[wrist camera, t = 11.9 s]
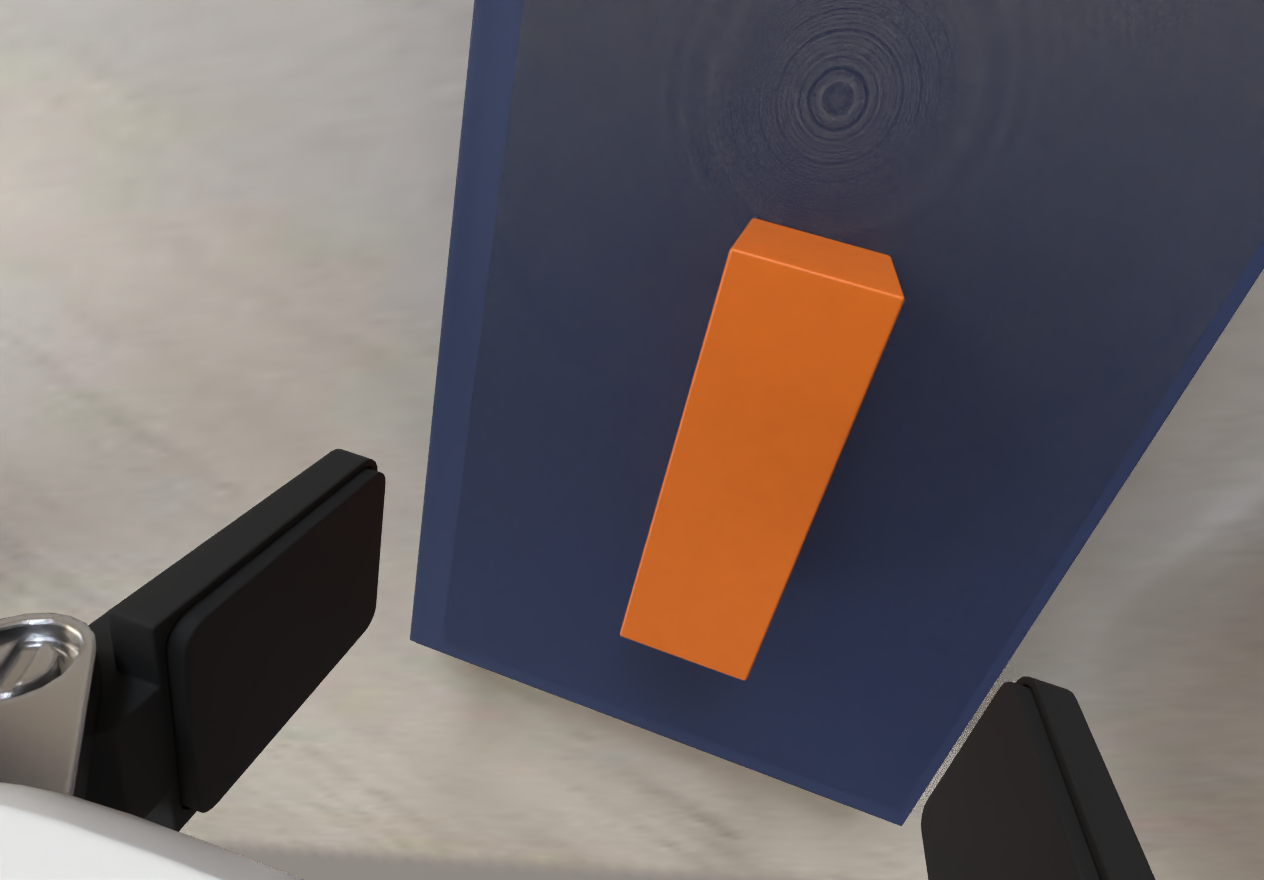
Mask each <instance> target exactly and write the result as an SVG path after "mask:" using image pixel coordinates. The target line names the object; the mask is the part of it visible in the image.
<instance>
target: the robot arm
mask: <svg viewBox="0 0 1264 880" xmlns="http://www.w3.org/2000/svg"><path fill="white" fill-rule="evenodd" d="M384 495H385V476H384V474H383V473H381V472H378V471H377V465H376V462H375V461H374V460H372V459H369V458H366V457H363V456H360V455H357V454H354V453H351V452H348V451H345V450H342V449H335V450H333V451H331V452H330V453H329V454H327V455H326V456H324V457H323V458H322V459H320V460H319V461H317V462H316V463H315V464H313V465H312V466H310V467H309V468H308V469H306V470H305V471H303V472H302V473H301V474H299V475H298V476H296V477H295V478H294V479H292V480H291V481H289V482H288V483H287V484H285V485H284V486H282V487H281V488H280V489H278V490H277V491H275V492H274V493H273V494H271V495H270V496H268V497H267V498H266V499H264V500H263V501H261V502H260V503H259V504H257V505H256V506H254V507H253V508H252V509H250V510H249V511H247V512H246V513H245V514H243V515H242V516H240V517H239V518H238V519H236V520H235V521H233V522H232V523H231V524H229V525H228V526H226V527H225V528H224V529H222V530H221V531H219V532H218V533H217V534H215V535H214V536H212V537H211V538H210V539H208V540H207V541H205V542H204V543H203V544H201V545H200V546H198V547H197V548H196V549H194V550H193V551H191V552H190V553H189V554H187V555H186V556H184V557H183V558H182V559H180V560H179V561H177V562H176V563H175V564H173V565H172V566H170V567H169V568H168V569H166V570H165V571H163V572H162V573H161V574H159V575H158V576H156V577H155V578H154V579H152V580H151V581H149V582H148V583H147V584H145V585H144V586H142V587H141V588H140V589H138V590H137V591H135V592H134V593H133V594H131V595H130V596H128V597H127V598H126V599H124V600H123V601H121V602H120V603H119V604H117V605H116V606H114V607H113V608H112V609H110V610H109V611H108V612H106V613H105V614H104V615H102V616H101V617H99V618H98V619H97V620H95V621H94V622H93V623H91V624H90V625H87V624H86V623H84V622H82V621H80V620H78V619H76V618H74V617H72V616H67V615H61V614H55V613H32V614H23V615H18V616H13V617H8V618H3V619H0V880H303V879H300V878H298V877H295V876H293V875H290V874H288V873H285V872H283V871H280V870H278V869H275V868H273V867H270V866H267V865H265V864H262V863H260V862H258V861H255V860H253V859H250V858H247V857H245V856H242V855H239V854H237V853H234V852H231V851H228V850H226V849H223V848H220V847H218V846H215V845H212V844H210V843H207V842H204V841H202V840H199V839H196V838H194V837H191V836H188V835H186V834H183V833H180V832H179V831H180V830H181V828H182V827H183V826H184V825H185V824H186V823H187V822H188V820H189V819H190V818H191V817H192V816H193V815H194V814H195V812H196V811H199V812H202V813H204V812H207V811H209V810H210V809H212V808H213V807H214V806H215V805H216V804H217V803H218V802H219V801H220V800H221V798H222V797H223V796H224V795H225V794H226V793H227V791H228V790H229V789H230V788H231V787H232V786H233V784H234V783H235V782H236V781H237V780H238V779H239V777H240V776H241V775H242V774H243V773H244V772H245V770H246V769H247V768H248V767H249V766H250V765H251V763H252V762H253V761H254V760H255V759H256V758H257V756H258V755H259V754H260V753H261V752H262V751H263V749H264V748H265V747H266V746H267V745H268V744H269V742H270V741H271V740H272V739H273V738H274V737H275V735H276V734H277V733H278V732H279V731H280V730H281V728H282V727H283V726H284V725H285V724H286V723H287V721H288V720H289V719H290V718H291V717H292V716H293V714H294V713H295V712H296V711H297V710H298V709H299V707H300V706H301V705H302V704H303V703H304V702H305V700H306V699H307V698H308V697H309V696H310V695H311V693H312V692H313V691H314V690H315V689H316V688H317V686H318V685H319V684H320V683H321V682H322V681H323V679H324V678H325V677H326V676H327V675H328V674H329V672H330V671H331V670H332V669H333V668H334V667H335V665H336V664H337V663H338V662H339V661H340V660H341V659H342V657H343V656H344V655H345V654H346V653H347V652H348V650H349V649H350V648H351V647H352V646H353V645H354V643H355V642H356V641H357V640H358V639H359V638H360V636H361V635H362V634H363V633H364V632H365V630H366V629H367V628H368V626H369V624H370V623H371V621H372V618H373V616H374V613H375V609H376V599H377V586H378V573H379V560H380V547H381V534H382V521H383V508H384ZM921 831H922V838H923V845H924V852H925V859H926V866H927V873H928V880H1155V878H1154V875H1153V873H1152V871H1151V869H1150V866H1149V864H1148V862H1147V859H1146V857H1145V855H1144V852H1143V850H1142V848H1141V846H1140V843H1139V841H1138V839H1137V836H1136V834H1135V832H1134V830H1133V827H1132V825H1131V823H1130V820H1129V818H1128V816H1127V814H1126V811H1125V809H1124V807H1123V804H1122V802H1121V800H1120V798H1119V795H1118V793H1117V791H1116V788H1115V786H1114V784H1113V782H1112V779H1111V777H1110V775H1109V772H1108V770H1107V768H1106V766H1105V763H1104V761H1103V759H1102V756H1101V754H1100V752H1099V750H1098V747H1097V745H1096V743H1095V740H1094V738H1093V736H1092V733H1091V731H1090V729H1089V727H1088V724H1087V722H1086V720H1085V717H1084V715H1083V713H1082V711H1081V708H1080V706H1079V704H1078V701H1077V699H1076V697H1075V696H1074V694H1073V693H1072V692H1071V691H1069V690H1067V689H1064V688H1061V687H1058V686H1055V685H1052V684H1049V683H1046V682H1043V681H1040V680H1037V679H1034V678H1031V677H1022V678H1020V679H1018V681H1017V682H1016V683H1013V682H1006V683H1004V684H1003V685H1002V686H1001V687H1000V689H999V690H998V692H997V693H996V695H995V696H994V698H993V699H992V701H991V703H990V704H989V706H988V707H987V709H986V710H985V712H984V713H983V715H982V716H981V718H980V720H979V721H978V723H977V724H976V726H975V727H974V729H973V730H972V732H971V733H970V735H969V737H968V738H967V740H966V741H965V743H964V744H963V746H962V747H961V749H960V751H959V752H958V754H957V755H956V757H955V758H954V760H953V761H952V763H951V764H950V766H949V768H948V769H947V771H946V772H945V774H944V775H943V777H942V778H941V780H940V781H939V783H938V785H937V786H936V788H935V789H934V791H933V792H932V794H931V795H930V797H929V798H928V800H927V802H926V804H925V806H924V809H923V813H922V819H921Z"/></svg>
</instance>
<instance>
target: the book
mask: <svg viewBox="0 0 1264 880" xmlns="http://www.w3.org/2000/svg"><path fill="white" fill-rule="evenodd" d="M752 218H756V219H760V220H763V221H767V222H770V223H774V224H778V225H781V226H785V227H788V228H792V229H796V230H799V231H803V232H806V233H810V234H814V235H817V236H821V237H824V238H828V239H831V240H835V241H839V242H842V243H846V244H849V245H853V246H857V247H860V248H864V249H867V250H871V251H875V252H878V253H882V254H885V255H889V256H890V257H891V259H892V262H893V265H894V268H895V271H896V274H897V277H898V280H899V283H900V286H901V289H902V292H903V295H904V303H903V305H902V307H901V310H900V312H899V315H898V317H897V319H896V322H895V324H894V327H893V329H892V331H891V334H890V336H889V339H888V341H887V343H886V346H885V348H884V351H883V353H882V355H881V358H880V360H879V363H878V365H877V367H876V370H875V372H874V375H873V377H872V379H871V382H870V384H869V387H868V389H867V392H866V394H865V396H864V399H863V401H862V404H861V406H860V408H859V411H858V413H857V416H856V418H855V420H854V423H853V425H852V428H851V430H850V432H849V435H848V437H847V440H846V442H845V444H844V447H843V449H842V452H841V454H840V456H839V459H838V461H837V464H836V466H835V468H834V471H833V473H832V476H831V478H830V480H829V483H828V485H827V488H826V490H825V492H824V495H823V497H822V500H821V502H820V504H819V507H818V509H817V512H816V514H815V517H814V519H813V521H812V524H811V526H810V529H809V531H808V533H807V536H806V538H805V541H804V543H803V545H802V548H801V550H800V553H799V555H798V557H797V560H796V562H795V565H794V567H793V569H792V572H791V574H790V577H789V579H788V581H787V584H786V586H785V589H784V591H783V593H782V596H781V598H780V601H779V603H778V605H777V608H776V610H775V613H774V615H773V617H772V620H771V622H770V625H769V627H768V629H767V632H766V634H765V637H764V639H763V641H762V644H761V646H760V649H759V651H758V654H757V656H756V658H755V661H754V663H753V666H752V668H751V670H750V673H749V675H748V678H747V679H746V680H745V681H743V680H741V679H738V678H735V677H732V676H729V675H727V674H724V673H721V672H718V671H716V670H713V669H710V668H707V667H705V666H702V665H699V664H696V663H694V662H691V661H688V660H685V659H683V658H680V657H677V656H674V655H671V654H669V653H666V652H663V651H660V650H658V649H655V648H652V647H649V646H647V645H644V644H641V643H638V642H636V641H633V640H630V639H627V638H625V637H622V636H620V631H621V627H622V624H623V620H624V617H625V613H626V610H627V606H628V603H629V599H630V596H631V592H632V589H633V585H634V582H635V578H636V575H637V571H638V568H639V564H640V561H641V557H642V554H643V550H644V547H645V543H646V540H647V536H648V533H649V529H650V526H651V522H652V519H653V515H654V512H655V508H656V505H657V501H658V498H659V495H660V491H661V488H662V484H663V481H664V477H665V474H666V470H667V467H668V463H669V460H670V456H671V453H672V449H673V446H674V442H675V439H676V435H677V432H678V428H679V425H680V421H681V418H682V414H683V411H684V407H685V404H686V400H687V397H688V393H689V390H690V386H691V383H692V379H693V376H694V372H695V369H696V365H697V362H698V358H699V355H700V351H701V348H702V344H703V341H704V337H705V334H706V330H707V327H708V323H709V320H710V316H711V313H712V309H713V306H714V302H715V299H716V295H717V292H718V288H719V285H720V281H721V278H722V274H723V271H724V267H725V264H726V260H727V257H728V253H729V250H730V249H731V247H732V246H733V245H734V243H735V242H736V240H737V239H738V238H739V236H740V235H741V233H742V232H743V231H744V229H745V228H746V227H747V225H748V224H749V222H750V221H751V220H752ZM1263 269H1264V0H475V1H474V11H473V21H472V31H471V41H470V50H469V60H468V70H467V80H466V90H465V100H464V110H463V120H462V130H461V139H460V149H459V159H458V169H457V179H456V189H455V199H454V209H453V218H452V228H451V238H450V248H449V258H448V268H447V278H446V288H445V297H444V307H443V317H442V327H441V337H440V347H439V357H438V367H437V376H436V386H435V396H434V406H433V416H432V426H431V436H430V446H429V456H428V465H427V475H426V485H425V495H424V505H423V515H422V525H421V535H420V544H419V554H418V564H417V574H416V584H415V594H414V604H413V614H412V623H411V633H410V640H412V641H414V642H416V643H418V644H421V645H424V646H426V647H429V648H432V649H434V650H437V651H440V652H442V653H445V654H448V655H450V656H453V657H455V658H458V659H461V660H463V661H466V662H469V663H471V664H474V665H477V666H479V667H482V668H485V669H487V670H490V671H492V672H495V673H498V674H500V675H503V676H506V677H508V678H511V679H514V680H516V681H519V682H522V683H524V684H527V685H530V686H532V687H535V688H537V689H540V690H543V691H545V692H548V693H551V694H553V695H556V696H559V697H561V698H564V699H567V700H569V701H572V702H574V703H577V704H580V705H582V706H585V707H588V708H590V709H593V710H596V711H598V712H601V713H604V714H606V715H609V716H612V717H614V718H617V719H619V720H622V721H625V722H627V723H630V724H633V725H635V726H638V727H641V728H643V729H646V730H649V731H651V732H654V733H656V734H659V735H662V736H664V737H667V738H670V739H672V740H675V741H678V742H680V743H683V744H686V745H688V746H691V747H694V748H696V749H699V750H701V751H704V752H707V753H709V754H712V755H715V756H717V757H720V758H723V759H725V760H728V761H731V762H733V763H736V764H738V765H741V766H744V767H746V768H749V769H752V770H754V771H757V772H760V773H762V774H765V775H768V776H770V777H773V778H776V779H778V780H781V781H783V782H786V783H789V784H791V785H794V786H797V787H799V788H802V789H805V790H807V791H810V792H813V793H815V794H818V795H820V796H823V797H826V798H828V799H831V800H834V801H836V802H839V803H842V804H844V805H847V806H850V807H852V808H855V809H858V810H860V811H863V812H865V813H868V814H871V815H873V816H876V817H879V818H881V819H884V820H887V821H889V822H892V823H895V824H897V825H900V826H902V825H903V823H904V822H905V820H906V819H907V817H908V815H909V814H910V812H911V811H912V809H913V808H914V806H915V805H916V803H917V802H918V800H919V799H920V797H921V795H922V794H923V792H924V791H925V789H926V788H927V786H928V785H929V783H930V782H931V780H932V779H933V777H934V775H935V774H936V772H937V771H938V769H939V768H940V766H941V765H942V763H943V762H944V760H945V758H946V757H947V755H948V754H949V752H950V751H951V749H952V748H953V746H954V745H955V743H956V742H957V740H958V738H959V737H960V735H961V734H962V732H963V731H964V729H965V728H966V726H967V725H968V723H969V722H970V720H971V718H972V717H973V715H974V714H975V712H976V711H977V709H978V708H979V706H980V705H981V703H982V701H983V700H984V698H985V697H986V695H987V694H988V692H989V691H990V689H991V688H992V686H993V685H994V683H995V681H996V680H997V678H998V677H999V675H1000V674H1001V672H1002V671H1003V669H1004V668H1005V666H1006V665H1007V663H1008V661H1009V660H1010V658H1011V657H1012V655H1013V654H1014V652H1015V651H1016V649H1017V648H1018V646H1019V644H1020V643H1021V641H1022V640H1023V638H1024V637H1025V635H1026V634H1027V632H1028V631H1029V629H1030V628H1031V626H1032V624H1033V623H1034V621H1035V620H1036V618H1037V617H1038V615H1039V614H1040V612H1041V611H1042V609H1043V608H1044V606H1045V604H1046V603H1047V601H1048V600H1049V598H1050V597H1051V595H1052V594H1053V592H1054V591H1055V589H1056V588H1057V586H1058V584H1059V583H1060V581H1061V580H1062V578H1063V577H1064V575H1065V574H1066V572H1067V571H1068V569H1069V567H1070V566H1071V564H1072V563H1073V561H1074V560H1075V558H1076V557H1077V555H1078V554H1079V552H1080V551H1081V549H1082V547H1083V546H1084V544H1085V543H1086V541H1087V540H1088V538H1089V537H1090V535H1091V534H1092V532H1093V531H1094V529H1095V527H1096V526H1097V524H1098V523H1099V521H1100V520H1101V518H1102V517H1103V515H1104V514H1105V512H1106V510H1107V509H1108V507H1109V506H1110V504H1111V503H1112V501H1113V500H1114V498H1115V497H1116V495H1117V494H1118V492H1119V490H1120V489H1121V487H1122V486H1123V484H1124V483H1125V481H1126V480H1127V478H1128V477H1129V475H1130V474H1131V472H1132V470H1133V469H1134V467H1135V466H1136V464H1137V463H1138V461H1139V460H1140V458H1141V457H1142V455H1143V453H1144V452H1145V450H1146V449H1147V447H1148V446H1149V444H1150V443H1151V441H1152V440H1153V438H1154V437H1155V435H1156V433H1157V432H1158V430H1159V429H1160V427H1161V426H1162V424H1163V423H1164V421H1165V420H1166V418H1167V417H1168V415H1169V413H1170V412H1171V410H1172V409H1173V407H1174V406H1175V404H1176V403H1177V401H1178V400H1179V398H1180V397H1181V395H1182V393H1183V392H1184V390H1185V389H1186V387H1187V386H1188V384H1189V383H1190V381H1191V380H1192V378H1193V376H1194V375H1195V373H1196V372H1197V370H1198V369H1199V367H1200V366H1201V364H1202V363H1203V361H1204V360H1205V358H1206V356H1207V355H1208V353H1209V352H1210V350H1211V349H1212V347H1213V346H1214V344H1215V343H1216V341H1217V340H1218V338H1219V336H1220V335H1221V333H1222V332H1223V330H1224V329H1225V327H1226V326H1227V324H1228V323H1229V321H1230V319H1231V318H1232V316H1233V315H1234V313H1235V312H1236V310H1237V309H1238V307H1239V306H1240V304H1241V303H1242V301H1243V299H1244V298H1245V296H1246V295H1247V293H1248V292H1249V290H1250V289H1251V287H1252V286H1253V284H1254V283H1255V281H1256V279H1257V278H1258V276H1259V275H1260V273H1261V272H1262V270H1263Z"/></svg>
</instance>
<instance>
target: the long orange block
mask: <svg viewBox="0 0 1264 880" xmlns="http://www.w3.org/2000/svg"><path fill="white" fill-rule="evenodd" d="M903 303H904V295H903V292H902V289H901V286H900V283H899V280H898V277H897V274H896V271H895V268H894V265H893V262H892V259H891V257H890V256H889V255H885V254H882V253H878V252H875V251H871V250H867V249H864V248H860V247H857V246H853V245H849V244H846V243H842V242H839V241H835V240H831V239H828V238H824V237H821V236H817V235H814V234H810V233H806V232H803V231H799V230H796V229H792V228H788V227H785V226H781V225H778V224H774V223H770V222H767V221H763V220H760V219H756V218H752V220H751V221H750V222H749V224H748V225H747V227H746V228H745V229H744V231H743V232H742V233H741V235H740V236H739V238H738V239H737V240H736V242H735V243H734V245H733V246H732V247H731V249H730V250H729V253H728V257H727V260H726V264H725V267H724V271H723V274H722V278H721V281H720V285H719V288H718V292H717V295H716V299H715V302H714V306H713V309H712V313H711V316H710V320H709V323H708V327H707V330H706V334H705V337H704V341H703V344H702V348H701V351H700V355H699V358H698V362H697V365H696V369H695V372H694V376H693V379H692V383H691V386H690V390H689V393H688V397H687V400H686V404H685V407H684V411H683V414H682V418H681V421H680V425H679V428H678V432H677V435H676V439H675V442H674V446H673V449H672V453H671V456H670V460H669V463H668V467H667V470H666V474H665V477H664V481H663V484H662V488H661V491H660V495H659V498H658V501H657V505H656V508H655V512H654V515H653V519H652V522H651V526H650V529H649V533H648V536H647V540H646V543H645V547H644V550H643V554H642V557H641V561H640V564H639V568H638V571H637V575H636V578H635V582H634V585H633V589H632V592H631V596H630V599H629V603H628V606H627V610H626V613H625V617H624V620H623V624H622V627H621V631H620V636H622V637H625V638H627V639H630V640H633V641H636V642H638V643H641V644H644V645H647V646H649V647H652V648H655V649H658V650H660V651H663V652H666V653H669V654H671V655H674V656H677V657H680V658H683V659H685V660H688V661H691V662H694V663H696V664H699V665H702V666H705V667H707V668H710V669H713V670H716V671H718V672H721V673H724V674H727V675H729V676H732V677H735V678H738V679H741V680H743V681H745V680H746V679H747V678H748V675H749V673H750V670H751V668H752V666H753V663H754V661H755V658H756V656H757V654H758V651H759V649H760V646H761V644H762V641H763V639H764V637H765V634H766V632H767V629H768V627H769V625H770V622H771V620H772V617H773V615H774V613H775V610H776V608H777V605H778V603H779V601H780V598H781V596H782V593H783V591H784V589H785V586H786V584H787V581H788V579H789V577H790V574H791V572H792V569H793V567H794V565H795V562H796V560H797V557H798V555H799V553H800V550H801V548H802V545H803V543H804V541H805V538H806V536H807V533H808V531H809V529H810V526H811V524H812V521H813V519H814V517H815V514H816V512H817V509H818V507H819V504H820V502H821V500H822V497H823V495H824V492H825V490H826V488H827V485H828V483H829V480H830V478H831V476H832V473H833V471H834V468H835V466H836V464H837V461H838V459H839V456H840V454H841V452H842V449H843V447H844V444H845V442H846V440H847V437H848V435H849V432H850V430H851V428H852V425H853V423H854V420H855V418H856V416H857V413H858V411H859V408H860V406H861V404H862V401H863V399H864V396H865V394H866V392H867V389H868V387H869V384H870V382H871V379H872V377H873V375H874V372H875V370H876V367H877V365H878V363H879V360H880V358H881V355H882V353H883V351H884V348H885V346H886V343H887V341H888V339H889V336H890V334H891V331H892V329H893V327H894V324H895V322H896V319H897V317H898V315H899V312H900V310H901V307H902V305H903Z"/></svg>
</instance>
